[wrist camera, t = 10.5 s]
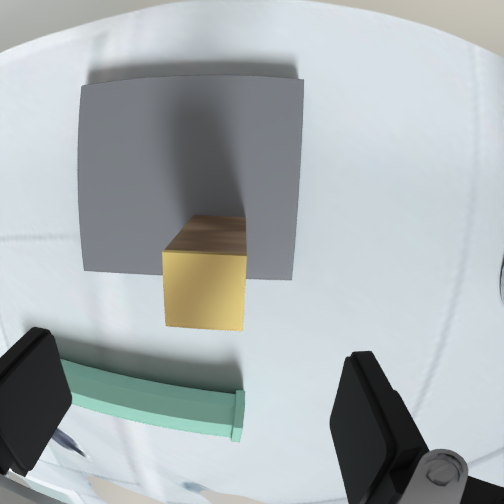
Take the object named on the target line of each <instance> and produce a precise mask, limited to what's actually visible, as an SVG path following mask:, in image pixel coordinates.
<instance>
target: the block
mask: <svg viewBox="0 0 504 504" xmlns="http://www.w3.org/2000/svg"><path fill="white" fill-rule="evenodd" d="M162 259H163V287H164V306H165V322H166V326H170V327H182V328H196V329H212V330H230V331H243V318H244V299H245V281H246V262H247V243H246V217H230V216H207V215H193V216H192V218H191V219H190V220H189V221H188V222H187V223H186V225H185V226H184V227H183V228H182V229H181V230H180V232H179V233H178V234H177V235H176V236H175V238H174V239H173V240H172V241H171V242H170V243H169V245H168V246H167V247H166V248H165V249H164V251H163V252H162Z"/></svg>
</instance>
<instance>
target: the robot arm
mask: <svg viewBox="0 0 504 504" xmlns="http://www.w3.org/2000/svg"><path fill="white" fill-rule="evenodd" d="M501 297H502V301H503V304H504V266H503V270H502V276H501ZM71 404H72V394H71V391H70V388H69V385H68V382H67V379H66V376H65V373H64V370H63V366H62V363H61V360H60V356H59V353H58V349H57V345H56V342H55V338H54V336H53V335H52V334H51V332H50V331H49V330H48V329H43V328H38V327H33V328H31V329H30V330H29V331H28V332H27V333H26V334H25V335H24V336H23V337H22V338H20V339H19V340H18V341H17V342H16V343H15V344H14V345H13V346H12V347H11V348H10V349H9V350H8V351H7V352H6V353H5V354H4V355H3V356H2V357H1V358H0V504H67V503H64V502H61V501H59V500H56V499H54V498H51V497H49V496H46V495H44V494H41V493H39V492H37V491H34V490H32V489H30V488H27V487H25V486H23V485H21V484H19V483H17V482H15V481H13V480H11V479H10V478H9V473H8V470H9V469H10V468H11V469H12V471H13V472H15V473H17V474H19V475H21V476H23V477H25V476H26V475H27V473H28V471H31V470H32V469H33V468H34V466H35V464H36V463H37V461H38V459H39V457H40V456H41V454H42V452H43V450H44V449H45V447H46V445H47V444H48V442H49V440H50V439H51V437H52V435H53V434H54V432H55V430H56V429H57V427H58V425H59V424H60V422H61V420H62V419H63V417H64V415H65V414H66V412H67V411H68V409H69V407H70V406H71ZM330 430H331V434H332V438H333V442H334V446H335V450H336V454H337V458H338V462H339V466H340V470H341V474H342V478H343V482H344V486H345V490H346V494H347V498H348V502H349V504H504V487H500V486H497V485H494V484H491V483H488V482H485V481H482V480H479V479H476V478H473V477H470V476H468V467H467V463H466V462H465V460H464V459H463V458H462V457H461V456H460V455H459V454H457V453H455V452H453V451H451V450H446V449H435V450H432V451H429V449H428V447H427V445H426V443H425V441H424V439H423V437H422V435H421V434H420V432H419V430H418V428H417V426H416V424H415V422H414V420H413V418H412V417H411V415H410V413H409V411H408V409H407V407H406V406H405V404H404V402H403V400H402V398H401V396H400V395H399V393H398V392H397V391H396V390H393V388H392V387H391V385H390V383H389V381H388V379H387V377H386V376H385V374H384V372H383V370H382V368H381V367H380V365H379V363H378V361H377V360H376V358H375V356H374V354H373V353H372V352H371V351H358V352H352V354H351V356H350V357H346V358H345V362H344V366H343V370H342V374H341V378H340V383H339V387H338V390H337V394H336V398H335V402H334V406H333V409H332V413H331V416H330Z"/></svg>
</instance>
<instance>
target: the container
mask: <svg viewBox="0 0 504 504" xmlns="http://www.w3.org/2000/svg"><path fill="white" fill-rule="evenodd" d="M60 360H61V363H62V366H63V370H64V373H65V376H66V379H67V382H68V385H69V388H70V391H71V394H72V404H74V405H77V406H80V407H83V408H87V409H90V410H93V411H97V412H100V413H104V414H108V415H111V416H115V417H119V418H123V419H127V420H131V421H136V422H140V423H145V424H149V425H154V426H159V427H164V428H170V429H175V430H181V431H187V432H193V433H200V434H208V435H215V436H224V437H231V441H232V442H240V439H241V434H242V429H243V419H244V409H245V391H241V390H236V393H235V394H230V393H222V392H214V391H207V390H200V389H193V388H187V387H180V386H174V385H169V384H163V383H158V382H153V381H148V380H143V379H138V378H133V377H129V376H124V375H120V374H115V373H111V372H107V371H103V370H99V369H95V368H91V367H88V366H84V365H80V364H77V363H73V362H70V361H66V360H63V359H60Z"/></svg>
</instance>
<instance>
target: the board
mask: <svg viewBox="0 0 504 504" xmlns="http://www.w3.org/2000/svg"><path fill="white" fill-rule="evenodd" d="M303 99H304V80H302V79H292V78H281V77H267V76H247V75H182V76H162V77H148V78H137V79H127V80H118V81H110V82H103V83H96V84H90V85H83V86H81V97H80V109H79V126H78V205H79V223H80V236H81V247H82V257H83V266H84V271H95V272H111V273H128V274H146V275H163V259H162V252H163V251H164V249H165V248H166V247H167V246H168V245H169V243H170V242H171V241H172V240H173V239H174V238H175V236H176V235H177V234H178V233H179V232H180V230H181V229H182V228H183V227H184V226H185V225H186V223H187V222H188V221H189V220H190V219H191V218H192V216H193V215H207V216H230V217H246V243H247V262H246V279H264V280H292V272H293V261H294V249H295V237H296V224H297V210H298V196H299V180H300V163H301V145H302V124H303Z"/></svg>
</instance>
